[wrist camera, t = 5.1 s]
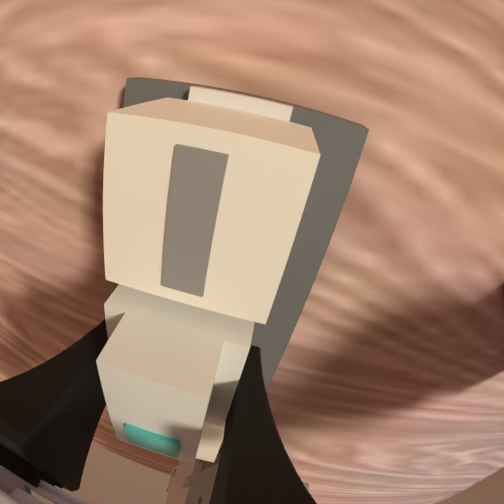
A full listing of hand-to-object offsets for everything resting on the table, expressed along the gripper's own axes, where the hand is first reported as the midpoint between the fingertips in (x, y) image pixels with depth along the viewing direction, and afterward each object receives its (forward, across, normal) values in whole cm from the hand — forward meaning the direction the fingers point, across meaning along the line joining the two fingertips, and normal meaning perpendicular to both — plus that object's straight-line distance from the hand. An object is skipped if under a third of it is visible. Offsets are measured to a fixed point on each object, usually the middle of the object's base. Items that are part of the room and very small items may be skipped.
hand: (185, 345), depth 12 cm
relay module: (+2, 0, 0) cm, 2 cm away
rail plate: (+4, 0, 0) cm, 4 cm away
